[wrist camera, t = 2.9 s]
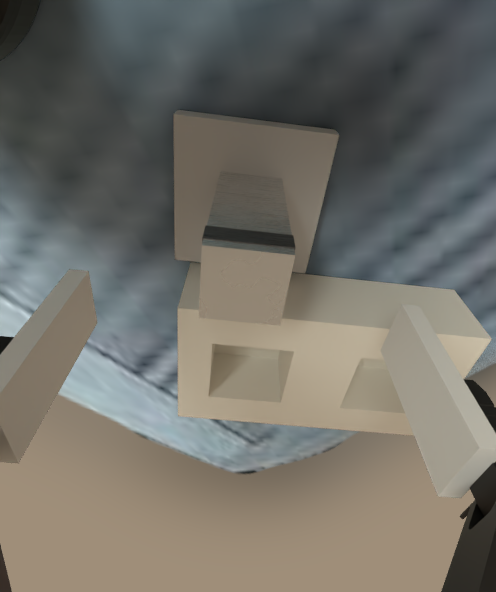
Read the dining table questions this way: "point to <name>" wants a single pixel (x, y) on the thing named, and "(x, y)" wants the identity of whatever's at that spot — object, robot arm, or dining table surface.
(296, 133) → the beige flat square plate
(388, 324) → the port box
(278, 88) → the dining table surface
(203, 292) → the plug
